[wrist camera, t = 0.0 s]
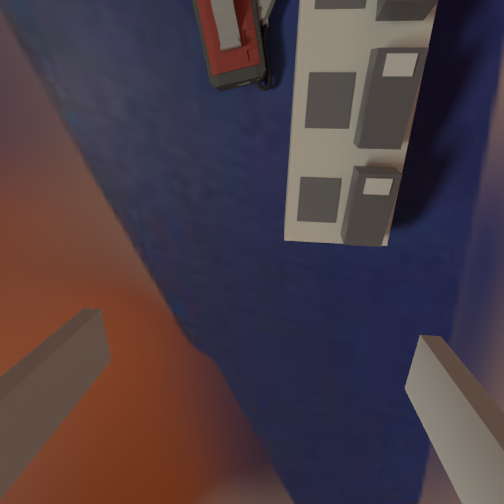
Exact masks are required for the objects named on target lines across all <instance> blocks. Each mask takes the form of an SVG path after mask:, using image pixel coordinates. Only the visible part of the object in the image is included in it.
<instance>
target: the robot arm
mask: <svg viewBox="0 0 504 504" xmlns="http://www.w3.org/2000/svg"><path fill="white" fill-rule="evenodd" d="M110 361H111V357H110V353H109V347H108V342H107V337H106V332H105V327H104V322H103V317H102V312H101V310H100V309H90V308H84V309H83V310H81V311H80V312H79V313H78V314H76V315H75V316H74V317H73V318H72V319H70V320H69V321H68V322H67V323H66V324H64V325H63V326H62V327H61V328H60V329H58V330H57V331H56V332H55V333H53V334H52V335H51V336H50V337H49V338H47V339H46V340H45V341H44V342H43V343H41V344H40V345H39V346H38V347H36V348H35V349H34V350H33V351H32V352H30V353H29V354H28V355H27V356H26V357H24V358H23V359H22V360H21V361H19V362H18V363H17V364H16V365H15V366H13V367H12V368H11V369H10V370H9V371H7V372H6V373H5V374H4V375H3V376H1V377H0V499H1V498H2V497H3V496H4V494H5V493H6V492H7V491H8V489H9V488H10V487H11V486H12V484H13V483H14V482H15V481H16V479H17V478H18V477H19V476H20V474H21V473H22V472H23V471H24V469H25V468H26V467H27V465H28V464H29V463H30V462H31V460H32V459H33V458H34V457H35V455H36V454H37V453H38V452H39V450H40V449H41V448H42V447H43V445H44V444H45V443H46V441H47V440H48V439H49V438H50V437H51V435H52V434H53V433H54V432H55V430H56V429H57V428H58V426H59V425H60V424H61V423H62V421H63V420H64V419H65V417H66V416H67V415H68V414H69V413H70V411H71V410H72V409H73V408H74V406H75V405H76V404H77V402H78V401H79V400H80V399H81V398H82V396H83V395H84V393H85V392H86V391H87V390H88V389H89V387H90V386H91V385H92V384H93V382H94V381H95V380H96V379H97V377H98V376H99V375H100V374H101V372H102V371H103V370H104V369H105V367H106V366H107V365H108V364H109V362H110ZM405 390H406V392H407V394H408V396H409V398H410V400H411V402H412V404H413V406H414V408H415V410H416V412H417V414H418V416H419V418H420V420H421V422H422V424H423V426H424V428H425V430H426V432H427V434H428V436H429V438H430V440H431V442H432V444H433V446H434V448H435V450H436V452H437V454H438V456H439V458H440V460H441V462H442V464H443V466H444V468H445V470H446V472H447V474H448V476H449V478H450V480H451V482H452V484H453V486H454V488H455V490H456V492H457V494H458V496H459V498H460V500H461V502H462V504H504V413H503V411H501V409H500V408H499V407H498V406H497V404H496V403H495V402H494V400H493V399H492V398H491V397H490V396H489V394H488V393H487V392H486V391H485V390H484V388H483V387H482V386H481V385H480V383H479V382H478V381H477V380H476V379H475V377H474V376H473V375H472V374H471V373H470V371H469V370H468V369H467V368H466V367H465V366H464V364H463V363H462V362H461V361H460V359H459V358H458V357H457V356H456V354H455V353H454V352H453V351H452V349H451V348H450V347H449V346H448V345H447V343H446V342H445V341H444V340H443V339H442V337H440V336H428V335H420V337H419V341H418V344H417V348H416V351H415V354H414V358H413V361H412V365H411V368H410V372H409V375H408V379H407V382H406V386H405Z"/></svg>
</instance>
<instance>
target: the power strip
mask: <svg viewBox="0 0 504 504" xmlns="http://www.w3.org/2000/svg"><path fill="white" fill-rule="evenodd" d="M437 3H438V2H437ZM376 8H377V0H299V14H298V29H297V44H296V59H295V74H294V89H293V103H292V118H291V133H290V148H289V163H288V178H287V193H286V208H285V223H284V240H286V241H305V242H323V243H342V244H343V241H342V238H341V235H340V233H341V228H342V223H343V218H344V213H345V208H346V203H347V198H348V193H349V188H350V183H351V178H352V173H353V168H354V166H375V167H395V168H396V169H397V170H398V171H399V172H400V173H401V174H402V171H403V166H404V161H405V156H406V152H407V147H408V142H409V137H410V132H411V128H412V123H413V118H414V113H415V108H416V104H417V99H418V94H419V89H420V84H421V80H422V75H423V71H422V75H421V79H420V82H419V86H418V89H417V93H416V96H415V100H414V104H413V107H412V111H411V114H410V118H409V121H408V125H407V129H406V132H405V136H404V139H403V143H402V146H401V150H398V149H359V148H357V147H356V146H355V144H354V143H353V142H354V137H355V132H356V126H357V121H358V116H359V110H360V105H361V100H362V95H363V89H364V84H365V79H366V73H367V68H368V63H369V57H370V52H371V49H375V48H399V47H428V46H429V41H430V36H431V32H432V27H433V22H434V17H435V12H436V8H437V4H436V5H435V6H434V7H433V9H432V10H431V11H430V13H429V14H428V15H427V17H426V18H425V19H424V20H423V21H375V18H376ZM424 65H425V64H424ZM423 70H424V68H423ZM398 190H399V188H398ZM397 195H398V192H397ZM397 195H396V198H395V202H394V205H393V208H392V212H391V215H390V219H389V222H388V225H387V229H386V232H385V235H384V239H383V242H382V245H381V246H387V243H388V238H389V233H390V228H391V224H392V219H393V214H394V209H395V204H396V200H397Z"/></svg>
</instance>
